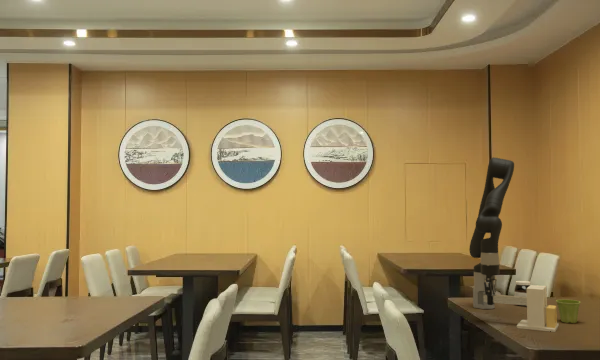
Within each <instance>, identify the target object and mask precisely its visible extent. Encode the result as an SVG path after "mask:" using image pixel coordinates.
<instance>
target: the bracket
mask: <svg viewBox="0 0 600 360" xmlns="http://www.w3.org/2000/svg"><path fill="white" fill-rule="evenodd" d="M547 296H548V293H547V285H537V284H530V286H529V287H528V288H527V306H526V315H527V316H526V319H521V320H520V322H518V323H517V325H516V329H521V330H532V331H541V332H550V331H551V332H550V333H555V332H556V331H557V330H558V328H559V322H557V325H556V327H555V328H550V327H547V320H546V308H547V306H548V297H547Z"/></svg>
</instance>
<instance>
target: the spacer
mask: <svg viewBox="0 0 600 360" xmlns="http://www.w3.org/2000/svg"><path fill="white" fill-rule="evenodd" d="M557 309H558V308H557V305H553V304H547V308H546V320H547V327H550V328H555V327H556V325H557V323H558V316H557V315H558V311H557Z"/></svg>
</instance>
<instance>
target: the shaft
mask: <svg viewBox="0 0 600 360" xmlns="http://www.w3.org/2000/svg"><path fill="white" fill-rule="evenodd" d="M477 294H478V304H481V305H483V304H484V303H485V302H487V295H486V294H485V291H479V292H477ZM493 303H495V304H502V305H504V304H506V305H514V306H515V305H516V306H518V305H527V297H520V296H515V295H506V294H495V295H494V294H493Z"/></svg>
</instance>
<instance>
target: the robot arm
mask: <svg viewBox="0 0 600 360" xmlns="http://www.w3.org/2000/svg"><path fill="white" fill-rule="evenodd" d="M514 170H515V163H514V161H513V160H511V159H504V158H500V157H499V158H498V157H494V156H493V157H491V158H490V160H489V163H488V165H487V171H486V177H485V184H484V189H483V193H482V198H481V201H480V205H479V209H478V216H477V218H476V220H475V228H474V231H473V233H472V237H471V239H470V243H469V254H470V255H469V256H471V257H472V258H474V259H480V262H479V263H477V264H475V265H474V266H473V288H472V295H473V296H472V298H473V301H472V302H473V304H472V307H473V308H477V309H479V310H480V309H483V310H492V309H495V304H496V303H493V294H494V295H496V292H497V282H498V281H497V278H496V277H495V276H499V275H500V271H501V270H500V255H499V240H500V235H501V232H502V228H503V222H502V220H501V218H500V214H501V213H502V212H501V211H502V207H503V203H504V200H505V199H504V198H505V196H506V194H507V192H508V189H509V186H510V184H511V181H512V178H513V174H514ZM494 179H498V180H502V181H501V182H500V183H499V184H498V185H497V186H496V187H495V184H494ZM486 234H491V235H490V237H486ZM484 237H486V238H484ZM479 291H485V294H486V295H487V302H485V303H484V304H483V305H481V304H478V294H477V292H479Z"/></svg>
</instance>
